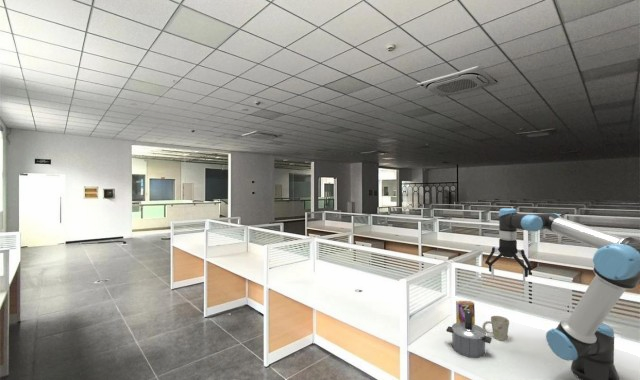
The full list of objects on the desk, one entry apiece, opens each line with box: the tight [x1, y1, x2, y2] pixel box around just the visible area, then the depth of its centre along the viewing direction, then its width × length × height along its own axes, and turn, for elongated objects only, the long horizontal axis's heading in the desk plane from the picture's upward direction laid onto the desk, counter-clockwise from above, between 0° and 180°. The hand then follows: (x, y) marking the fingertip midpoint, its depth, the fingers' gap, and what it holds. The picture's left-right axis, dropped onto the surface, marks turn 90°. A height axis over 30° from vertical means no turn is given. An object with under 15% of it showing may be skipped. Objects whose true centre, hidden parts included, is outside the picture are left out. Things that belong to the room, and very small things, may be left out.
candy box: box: [455, 300, 476, 325], centre depth 169 cm, size 9×4×15 cm, turn 85°
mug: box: [482, 315, 510, 342], centre depth 159 cm, size 8×13×10 cm, turn 78°
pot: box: [445, 325, 493, 359], centre depth 148 cm, size 20×14×9 cm
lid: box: [451, 310, 487, 339], centre depth 148 cm, size 15×15×10 cm
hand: (507, 280), depth 152 cm, fingers open, 13 cm apart
